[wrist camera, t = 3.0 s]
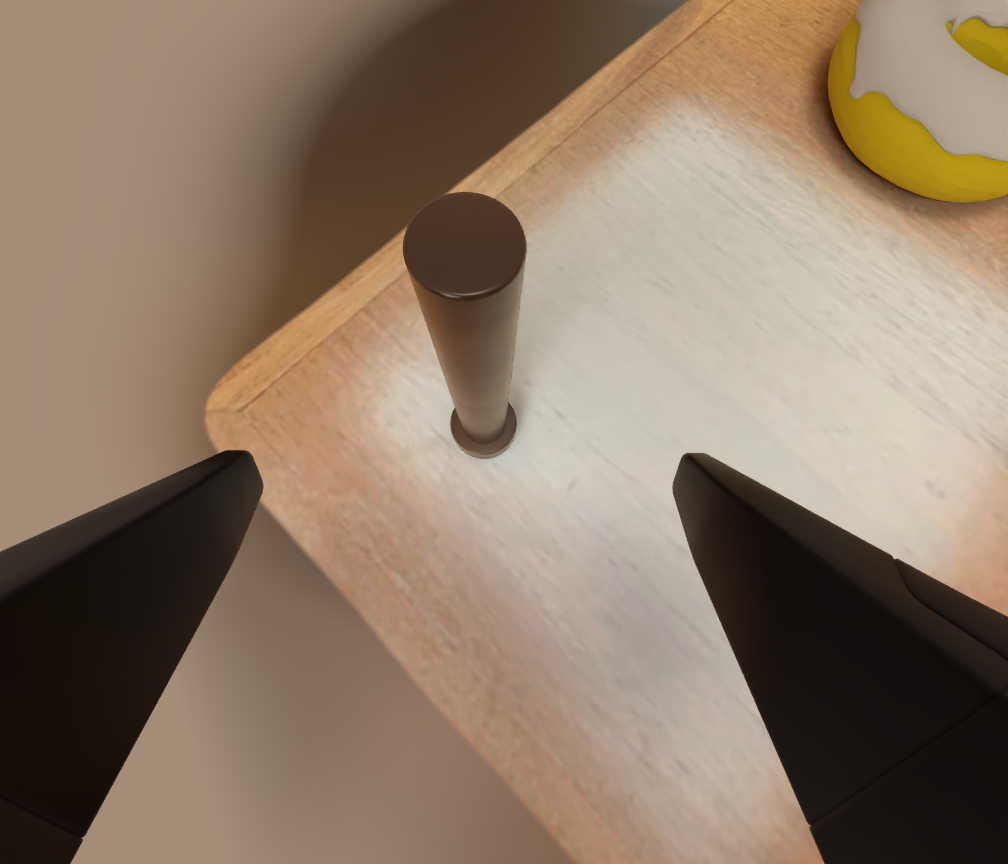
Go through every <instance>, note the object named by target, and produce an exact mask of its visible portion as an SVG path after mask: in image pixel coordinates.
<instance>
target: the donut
mask: <svg viewBox="0 0 1008 864" xmlns="http://www.w3.org/2000/svg"><path fill="white" fill-rule="evenodd" d="M828 94H829V101H830V104H831V108H832V112H833V116H834V119H835V122H836V124H837V126H838V129H839V131H840V133H841V135H842V137H843V139H844V141H845V142H846V144H847V145H848V146H849V148H850V149H851V150H852V152H853V153H854V154H855V156H856V157H857V158H858V159H859V160H860V161H861V162H863V163H864V164H865V165H866V166H867V167H869V168H870V169H871V170H872V171H873V172H875V173H876V174H878V175H880V176H881V177H883V178H885V179H886V180H888V181H890V182H892V183H893V184H895V185H897V186H899V187H902V188H904V189H906V190H909V191H911V192H913V193H916V194H918V195H920V196H924V197H928V198H932V199H936V200H940V201H948V202H978V201H984V200H989V199H994V198H999V197H1002V196H1005V195H1008V0H862V2H861V4H860V6H859V7H858V9H857V11H856V12H855V14H854V15H853V17H852V18H851V19H850V21H849V22H848V24H847V25H846V27H845V28H844V30H843V32H842V34H841V36H840V38H839V39H838V41H837V44H836V47H835V49H834V52H833V55H832V57H831V60H830V66H829V74H828Z"/></svg>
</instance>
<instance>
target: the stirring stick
mask: <svg viewBox="0 0 1008 864" xmlns="http://www.w3.org/2000/svg"><path fill="white" fill-rule="evenodd" d="M526 252H527V243H526V237H525V234H524V230H523V228H522V226H521V224H520V222H519V221H518V219H517V217H516V216H515V215H514V214H513V212H512V211H511V210H510V209H509V208H507V207H506V206H505V205H504V204H502V203H501V202H499V201H497V200H496V199H494V198H491V197H489V196H486V195H483V194H479V193H472V192H457V193H451V194H447V195H443V196H440V197H438V198H436V199H434V200H432V201H430V202H428V203H427V204H426V205H424V206H423V207H422V208H421V209H420V210H419V211H418V212H417V213H416V214H415V215H414V216H413V218H412V219H411V221H410V223H409V225H408V227H407V230H406V233H405V236H404V241H403V255H404V259H405V263H406V266H407V269H408V272H409V275H410V278H411V281H412V283H413V286H414V289H415V292H416V295H417V298H418V301H419V304H420V307H421V310H422V313H423V315H424V318H425V321H426V324H427V327H428V330H429V333H430V336H431V339H432V342H433V345H434V348H435V350H436V353H437V356H438V359H439V362H440V365H441V368H442V371H443V374H444V377H445V380H446V382H447V385H448V388H449V391H450V394H451V397H452V400H453V403H454V406H455V408H454V410H453V412H452V415H451V431H452V434H453V437H454V439H455V441H456V443H457V444H458V446H459V447H460V448H461V449H462V450H463V451H464V452H465V453H467V454H468V455H470V456H473V457H476V458H481V459H486V458H492V457H495V456H498V455H500V454H501V453H503V452H504V451H505V450H506V449H507V448H508V447H509V446H510V444H511V443H512V441H513V439H514V435H515V431H516V426H517V421H516V415H515V412H514V409H513V408H512V406H511V405H510V403H509V402H508V400H509V392H510V384H511V376H512V367H513V359H514V351H515V343H516V334H517V326H518V318H519V310H520V302H521V293H522V285H523V277H524V269H525V260H526Z"/></svg>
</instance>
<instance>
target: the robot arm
mask: <svg viewBox="0 0 1008 864" xmlns="http://www.w3.org/2000/svg"><path fill="white" fill-rule="evenodd" d="M262 492H263V481H262V478H261V475H260V473H259V470H258V468H257V466H256V463H255V461H254V458H253V456H252V454H251V453H250V452H248V451H245V450H227V451H223V452H221V453H219V454H217V455H214V456H213V457H210V458H208V459H206V460H203V461H201V462H199V463H197V464H194V465H192V466H190V467H188V468H186V469H184V470H181V471H179V472H177V473H174V474H172V475H170V476H168V477H166V478H163V479H161V480H159V481H157V482H154V483H152V484H150V485H148V486H146V487H143V488H141V489H139V490H137V491H134V492H132V493H130V494H128V495H125V496H123V497H121V498H119V499H117V500H114V501H112V502H110V503H108V504H105V505H103V506H101V507H99V508H97V509H94V510H92V511H90V512H88V513H85V514H83V515H81V516H79V517H76V518H74V519H72V520H70V521H68V522H65V523H63V524H61V525H59V526H56V527H55V528H52V529H50V530H48V531H45V532H43V533H41V534H39V535H36V536H34V537H32V538H30V539H27V540H25V541H23V542H21V543H19V544H17V545H14V546H12V547H10V548H7V549H6V550H3V551H1V552H0V864H70V863H71V861H72V860H73V858H74V856H75V854H76V852H77V850H78V849H79V847H80V845H81V843H82V841H83V839H82V837H84V836H85V835H86V833H87V831H88V829H89V828H90V826H91V824H92V822H93V820H94V818H95V817H96V815H97V813H98V811H99V809H100V807H101V805H102V804H103V802H104V800H105V798H106V796H107V794H108V793H109V791H110V789H111V787H112V785H113V783H114V782H115V779H116V778H117V776H118V774H119V772H120V770H121V769H122V767H123V765H124V763H125V761H126V759H127V758H128V756H129V754H130V752H131V750H132V748H133V746H134V745H135V743H136V741H137V739H138V737H139V735H140V734H141V732H142V730H143V728H144V726H145V724H146V722H147V720H148V718H149V717H150V715H151V713H152V711H153V710H154V708H155V706H156V704H157V702H158V700H159V698H160V697H161V695H162V693H163V691H164V689H165V687H166V686H167V684H168V682H169V680H170V678H171V676H172V674H173V672H174V671H175V669H176V667H177V665H178V663H179V662H180V660H181V658H182V656H183V654H184V652H185V651H186V649H187V647H188V645H189V643H190V641H191V639H192V638H193V636H194V634H195V632H196V630H197V628H198V627H199V625H200V623H201V621H202V619H203V617H204V615H205V614H206V612H207V610H208V608H209V606H210V604H211V603H212V601H213V599H214V597H215V595H216V593H217V591H218V590H219V588H220V586H221V584H222V582H223V580H224V579H225V577H226V575H227V573H228V571H229V569H230V567H231V565H232V563H233V561H234V559H235V558H236V555H237V553H238V551H239V549H240V546H241V544H242V542H243V539H244V537H245V534H246V531H247V529H248V527H249V524H250V522H251V520H252V517H253V515H254V512H255V510H256V507H257V505H258V502H259V500H260V498H261V495H262ZM673 495H674V498H675V502H676V505H677V508H678V512H679V515H680V518H681V521H682V525H683V528H684V531H685V535H686V538H687V541H688V545H689V548H690V551H691V554H692V557H693V559H694V562H695V564H696V566H697V569H698V571H699V574H700V576H701V578H702V580H703V583H704V585H705V587H706V590H707V592H708V594H709V597H710V599H711V601H712V604H713V606H714V608H715V611H716V613H717V615H718V617H719V620H720V622H721V624H722V627H723V629H724V631H725V634H726V636H727V638H728V641H729V643H730V645H731V648H732V650H733V652H734V654H735V657H736V659H737V661H738V664H739V666H740V668H741V671H742V673H743V675H744V678H745V680H746V682H747V685H748V687H749V689H750V691H751V694H752V696H753V698H754V701H755V703H756V705H757V708H758V710H759V712H760V715H761V717H762V719H763V721H764V724H765V726H766V728H767V731H768V733H769V735H770V738H771V740H772V742H773V745H774V747H775V749H776V752H777V754H778V756H779V758H780V761H781V763H782V765H783V768H784V770H785V772H786V775H787V777H788V779H789V782H790V784H791V786H792V789H793V791H794V793H795V795H796V798H797V800H798V802H799V805H800V807H801V809H802V812H803V814H804V816H805V819H806V821H807V823H808V824H809V825H811V826H810V827H809V828H810V831H811V833H812V836H813V838H814V840H815V843H816V845H817V847H818V850H819V852H820V854H821V857H822V859H823V861H824V863H825V864H1008V617H1007V616H1005V615H1003V614H1001V613H999V612H997V611H995V610H993V609H991V608H989V607H987V606H985V605H983V604H981V603H979V602H977V601H975V600H973V599H971V598H970V597H968V596H966V595H964V594H962V593H960V592H958V591H956V590H955V589H953V588H951V587H949V586H947V585H945V584H943V583H941V582H940V581H938V580H936V579H934V578H932V577H930V576H928V575H926V574H925V573H923V572H921V571H919V570H917V569H915V568H914V567H912V566H910V565H908V564H906V563H905V562H903V561H901V560H899V559H894V558H893V557H892V556H891V555H890V554H888V553H886V552H884V551H882V550H881V549H879V548H877V547H875V546H873V545H872V544H870V543H868V542H866V541H864V540H862V539H861V538H859V537H857V536H855V535H853V534H851V533H850V532H848V531H846V530H844V529H842V528H841V527H839V526H837V525H835V524H833V523H831V522H830V521H828V520H826V519H824V518H822V517H820V516H819V515H817V514H815V513H813V512H811V511H809V510H808V509H806V508H804V507H802V506H800V505H799V504H797V503H795V502H793V501H791V500H789V499H788V498H786V497H784V496H782V495H780V494H779V493H777V492H775V491H773V490H771V489H769V488H768V487H766V486H764V485H762V484H760V483H758V482H757V481H755V480H753V479H751V478H749V477H748V476H746V475H744V474H742V473H740V472H738V471H737V470H735V469H733V468H731V467H729V466H727V465H726V464H724V463H722V462H720V461H718V460H717V459H715V458H713V457H711V456H709V455H707V454H705V453H686V454H684V455H683V456H682V458H681V460H680V463H679V466H678V469H677V472H676V475H675V478H674V481H673Z"/></svg>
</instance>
